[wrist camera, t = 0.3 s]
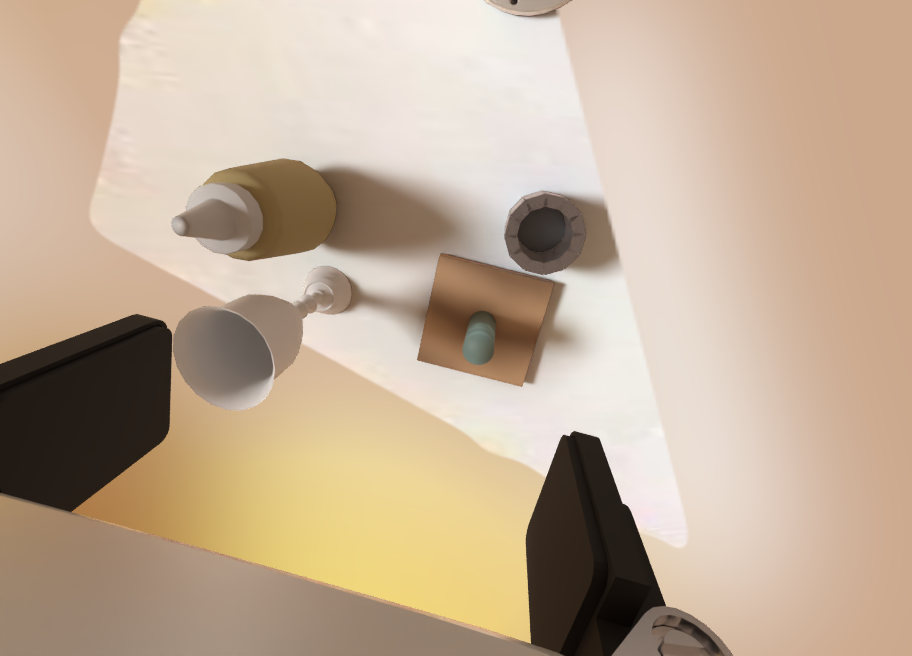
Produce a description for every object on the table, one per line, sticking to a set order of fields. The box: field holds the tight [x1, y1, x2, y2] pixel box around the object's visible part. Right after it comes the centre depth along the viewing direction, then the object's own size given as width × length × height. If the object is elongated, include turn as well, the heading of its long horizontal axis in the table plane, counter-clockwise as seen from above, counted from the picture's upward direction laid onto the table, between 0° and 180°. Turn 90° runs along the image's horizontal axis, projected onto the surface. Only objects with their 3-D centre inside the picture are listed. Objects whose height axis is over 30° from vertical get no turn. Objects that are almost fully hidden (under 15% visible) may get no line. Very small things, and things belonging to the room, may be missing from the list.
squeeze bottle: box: [171, 159, 337, 261], centre depth 35 cm, size 8×8×18 cm
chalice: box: [173, 266, 352, 410], centre depth 38 cm, size 7×7×18 cm
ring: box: [504, 191, 586, 275], centre depth 40 cm, size 6×6×5 cm
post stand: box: [417, 253, 554, 387], centre depth 42 cm, size 11×11×8 cm
